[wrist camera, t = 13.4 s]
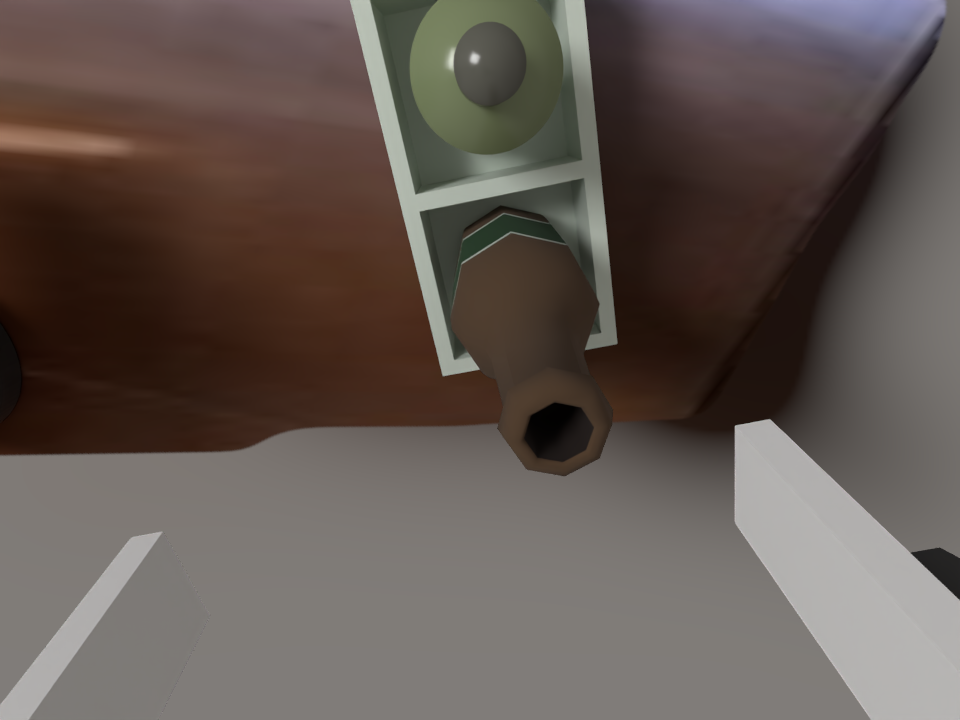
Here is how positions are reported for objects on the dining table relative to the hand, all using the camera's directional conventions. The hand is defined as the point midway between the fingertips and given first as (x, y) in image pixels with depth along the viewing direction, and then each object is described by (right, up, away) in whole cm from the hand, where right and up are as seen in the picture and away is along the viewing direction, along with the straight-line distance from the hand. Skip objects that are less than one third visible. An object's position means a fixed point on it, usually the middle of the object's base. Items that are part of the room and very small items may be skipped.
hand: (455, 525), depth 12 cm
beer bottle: (+3, +11, +26) cm, 29 cm away
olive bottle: (+1, +21, +22) cm, 30 cm away
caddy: (+2, +16, +25) cm, 30 cm away
